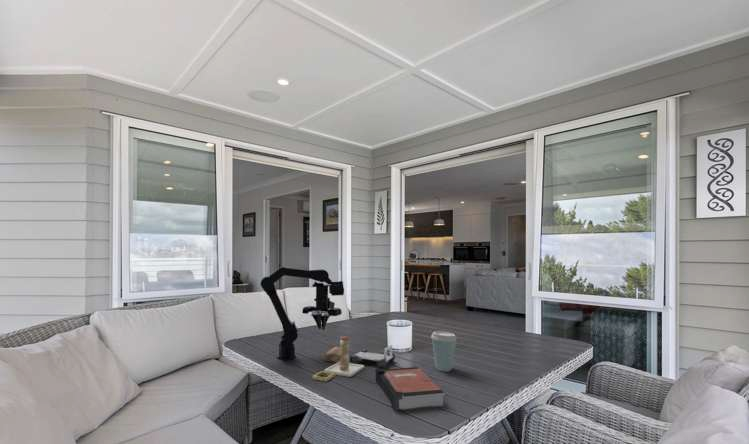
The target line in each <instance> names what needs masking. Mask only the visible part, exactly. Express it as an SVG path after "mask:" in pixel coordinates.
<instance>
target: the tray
mask: <svg viewBox="0 0 749 444" xmlns="http://www.w3.org/2000/svg"><path fill="white" fill-rule="evenodd" d="M363 369H365V365H364V364H361V363H360V364H358V363H357V364H353V363H350V362H349V370H347V371H341V370H340V361H339V362H335V363H334V364H333V365H330V366H329V367H327V368H325V369H324V370H323V371H324V372H330V373H335V376H341V377H347V378H351V377H353V376H354V375H356V374H358V373H359V372H361V371H362V370H363Z"/></svg>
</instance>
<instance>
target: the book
mask: <svg viewBox="0 0 749 444" xmlns="http://www.w3.org/2000/svg"><path fill="white" fill-rule="evenodd" d="M375 383H376V384H377V385H379V387H380V388H381V390H382V392H384V395H385V396H386V397H387V399H388V401H389V402H390V404H391V408H392V410H393V411H394V412H398V411H399V412H401V411H409V410H410V409H411V410H418V409H419V408H420V409H428V408H437V407H445V406H446V405H445V404H444V396H445V392H444V391H443V390H442V389H441V388H440V387H439V386H438V385H437V384H436V383H435V382H434V381H433V380H432V376H429V375H426V374H425V373H424V372H423V371H422V370H421V369H420V368H419V367H418V366H415V367H413V366H412V367H402V368H389V369H384V368H383V369H380V368H375ZM420 409H419V410H420Z"/></svg>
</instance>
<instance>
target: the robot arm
mask: <svg viewBox="0 0 749 444" xmlns="http://www.w3.org/2000/svg"><path fill="white" fill-rule="evenodd" d="M329 274H330V273H329V272H328V271H327V270H326V269H322V268H319V269H303V268H302V269H301V268H293V267H286V266H280V267H279V268H278V269H277V270H276V271H274V272H273V273H272V274H270V275H267V276H264V277H263V278H262V279H261V281H260V286H261V288H262V290H263V291H264V293H265V294H267V296H268V297H269V300H270V302H271V304H272V306H273V308H274V310H275V312H276V315H277V317H278V319H279V321H280V324H281V325H282V327H281V328H282V330H283V335H281V336H280V339H279V341H280V342H279V344H278V356H276V359H278V360H284V361H289V360H291V359H293V358H296V357H297V354H296V353H295V352H296V347H295V343H294V342H295V341H296V340H297V339H298V337H299V334H298V332H299V328H298V327H297V326H296V322H295V321H291V320H290V319H289V316H288V314H287V311H286V309H285V308H284V306H283V303H282V300H281V299H280V296H279V294H278V293H277V292H278V291H277V288H276V287H277V286H276V284H275V283H276V282H278V281H279V280H280V279H281V278H282V277H284V276H287V277H294V278H296V277H297V278H304V279H310V280H313V281H314V283H312V284H311V286H312V287H313V288H315V298H314V299H313V300H314V301H315V305H313V306H312V305H308V306H304V307H303V308H302V314H306V315H307V314H309V313H311V314H310V316H311V317H312V318H313V319H314V321H315V323H316V325H317V328H318V330H322V331H323V330H325V328H326V325H327V324H328V323H327V322H328V320H329V318H330V317H337V316H341V315H342V309H341V308H339V307H335V302H333V301H330V300H331V299H330V297H329V294H331V296H332V297H334V296H335V297H336V296H338V297H339V296H344V295H345V287H344V281H343V280H342V281H341V280H339V281H332V279H330V277H329ZM324 283H326V284H324Z"/></svg>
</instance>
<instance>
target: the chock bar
mask: <svg viewBox="0 0 749 444" xmlns="http://www.w3.org/2000/svg"><path fill="white" fill-rule="evenodd" d="M339 361H340V346H334V347H333V348H331V349H329V350H328V351H326V352H325V353H324V362H331V363H332V362H333V363H338V362H339Z"/></svg>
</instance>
